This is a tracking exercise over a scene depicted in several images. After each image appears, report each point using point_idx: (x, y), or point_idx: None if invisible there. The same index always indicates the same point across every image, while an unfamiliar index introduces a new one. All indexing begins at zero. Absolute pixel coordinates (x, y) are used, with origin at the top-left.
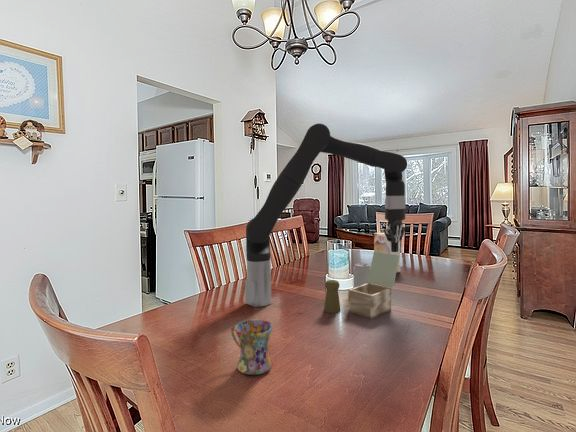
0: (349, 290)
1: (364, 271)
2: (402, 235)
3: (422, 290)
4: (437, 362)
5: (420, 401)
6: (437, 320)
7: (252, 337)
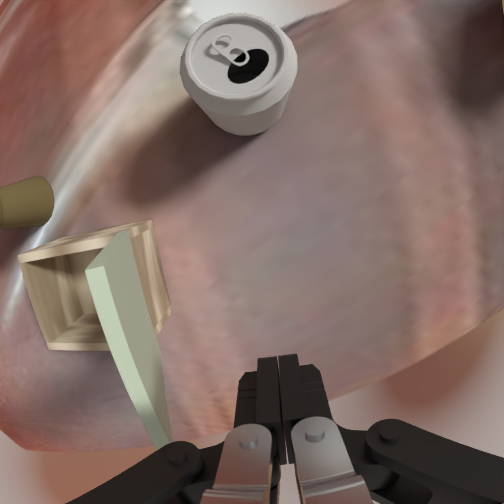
0: (19, 259)
1: (205, 108)
2: (421, 497)
3: (445, 245)
4: (90, 451)
5: (37, 448)
6: (221, 415)
7: None
